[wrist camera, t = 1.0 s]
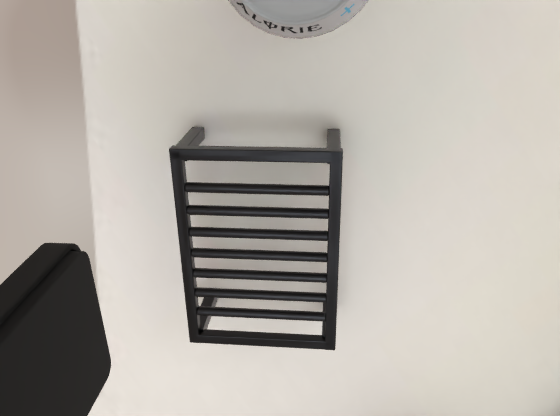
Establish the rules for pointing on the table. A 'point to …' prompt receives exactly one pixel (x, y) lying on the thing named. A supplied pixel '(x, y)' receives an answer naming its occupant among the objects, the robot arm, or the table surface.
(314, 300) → the rack
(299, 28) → the energy drink can
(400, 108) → the table surface
